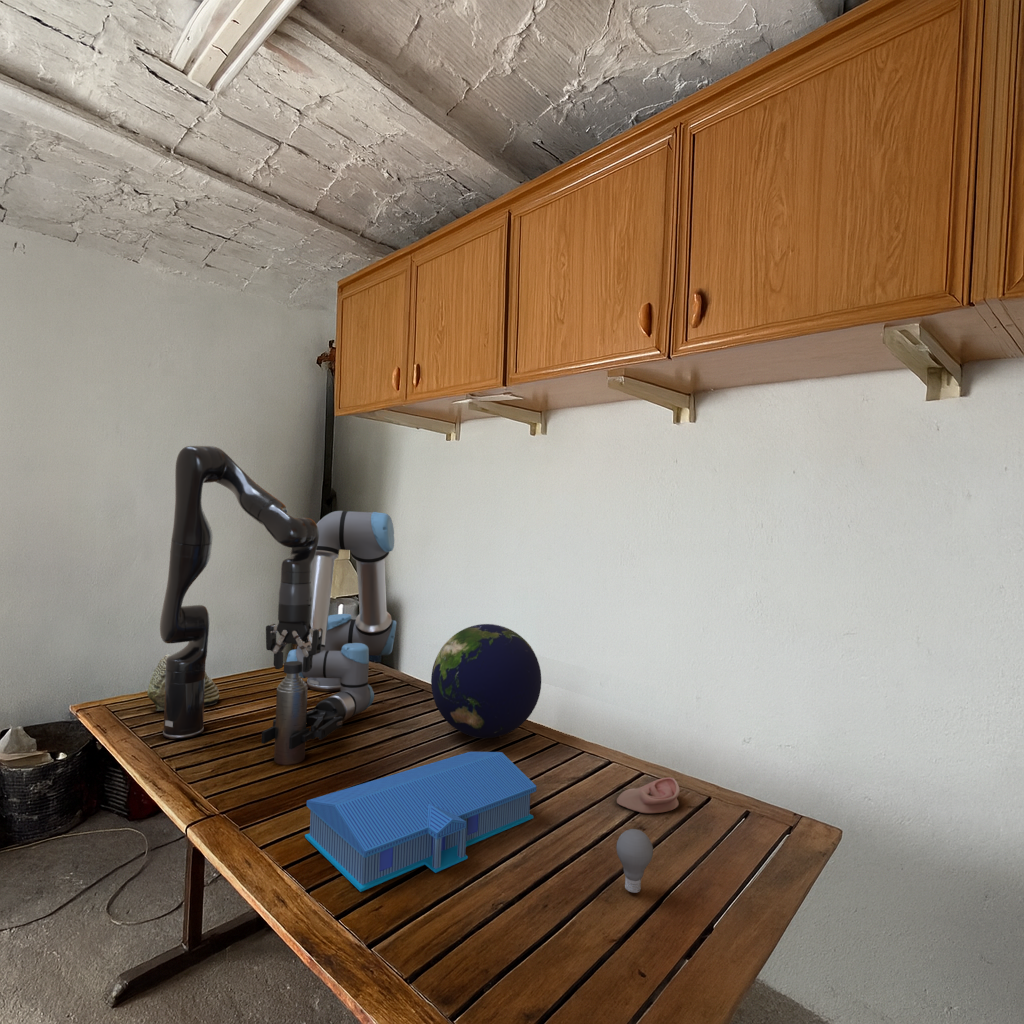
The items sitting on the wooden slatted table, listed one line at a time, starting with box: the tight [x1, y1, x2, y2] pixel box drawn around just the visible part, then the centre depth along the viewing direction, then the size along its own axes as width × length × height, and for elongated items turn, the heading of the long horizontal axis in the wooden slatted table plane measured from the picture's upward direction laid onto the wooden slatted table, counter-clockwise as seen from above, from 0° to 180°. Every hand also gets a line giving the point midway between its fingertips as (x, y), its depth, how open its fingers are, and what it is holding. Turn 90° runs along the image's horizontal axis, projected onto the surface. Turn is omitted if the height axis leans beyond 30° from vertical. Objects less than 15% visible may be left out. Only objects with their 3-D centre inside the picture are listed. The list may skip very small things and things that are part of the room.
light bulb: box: [615, 828, 654, 894], centre depth 106 cm, size 6×6×10 cm
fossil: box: [147, 654, 221, 712], centre depth 185 cm, size 9×18×15 cm, turn 132°
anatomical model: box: [616, 776, 681, 814], centre depth 138 cm, size 13×4×12 cm
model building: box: [304, 751, 538, 893], centre depth 122 cm, size 39×24×10 cm, turn 132°
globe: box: [430, 623, 542, 739], centre depth 172 cm, size 30×30×30 cm
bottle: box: [273, 673, 309, 766], centre depth 152 cm, size 7×7×22 cm
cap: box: [283, 661, 302, 675], centre depth 152 cm, size 4×4×2 cm
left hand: (292, 669), depth 152 cm, fingers open, 6 cm apart
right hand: (276, 740), depth 147 cm, fingers closed on bottle, 7 cm apart
